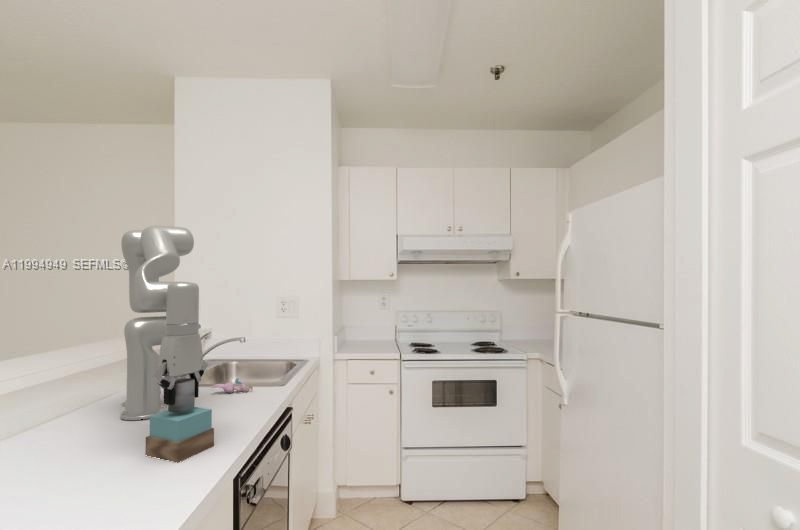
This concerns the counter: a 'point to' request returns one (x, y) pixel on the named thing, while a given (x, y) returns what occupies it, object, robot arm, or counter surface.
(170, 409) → the charcoal cylinder
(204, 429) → the teal top block
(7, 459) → the counter surface
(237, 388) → the pink patterned figure
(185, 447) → the walnut base block
